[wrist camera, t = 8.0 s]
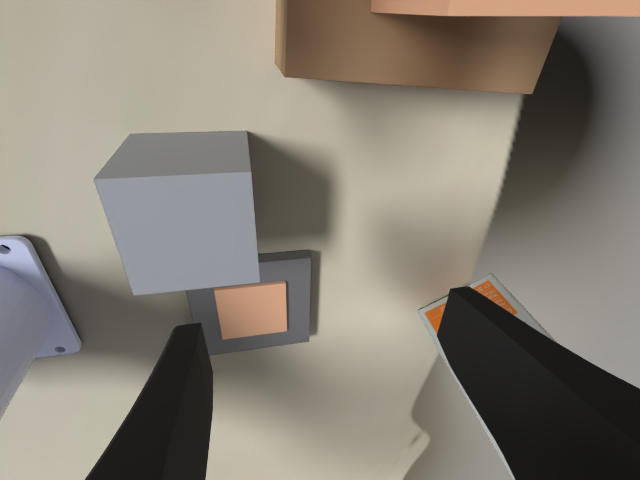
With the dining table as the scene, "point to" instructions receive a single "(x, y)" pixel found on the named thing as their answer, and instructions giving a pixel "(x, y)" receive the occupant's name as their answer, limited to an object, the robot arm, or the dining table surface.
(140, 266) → the slate grey cube
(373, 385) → the dining table surface
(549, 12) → the terracotta cube
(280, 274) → the tile
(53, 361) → the dining table surface
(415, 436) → the dining table surface
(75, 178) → the dining table surface
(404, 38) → the walnut block
